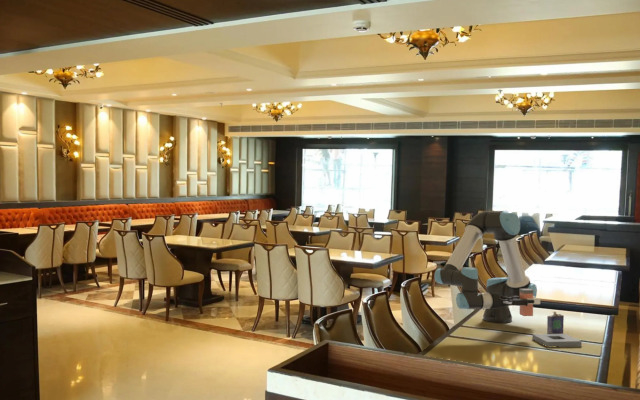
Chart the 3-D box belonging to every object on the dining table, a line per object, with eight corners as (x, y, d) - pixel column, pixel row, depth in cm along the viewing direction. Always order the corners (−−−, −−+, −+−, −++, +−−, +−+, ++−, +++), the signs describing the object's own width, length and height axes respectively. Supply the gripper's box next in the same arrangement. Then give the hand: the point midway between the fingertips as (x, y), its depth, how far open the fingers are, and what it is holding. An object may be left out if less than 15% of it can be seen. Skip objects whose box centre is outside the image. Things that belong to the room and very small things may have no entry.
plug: (519, 314, 267) (519, 288, 267) (528, 314, 267) (528, 288, 267) (523, 316, 262) (523, 290, 262) (533, 316, 263) (533, 290, 263)
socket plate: (532, 339, 262) (532, 334, 262) (565, 339, 263) (565, 333, 263) (547, 347, 248) (547, 341, 248) (581, 346, 249) (581, 341, 249)
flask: (549, 334, 271) (549, 312, 271) (545, 333, 274) (545, 311, 274) (564, 333, 274) (564, 311, 274) (560, 332, 277) (560, 310, 277)
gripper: (482, 305, 272) (528, 304, 274) (496, 312, 255) (546, 311, 256) (482, 289, 272) (528, 289, 274) (497, 295, 255) (546, 295, 256)
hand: (537, 300), depth 265 cm, fingers closed on plug, 4 cm apart
